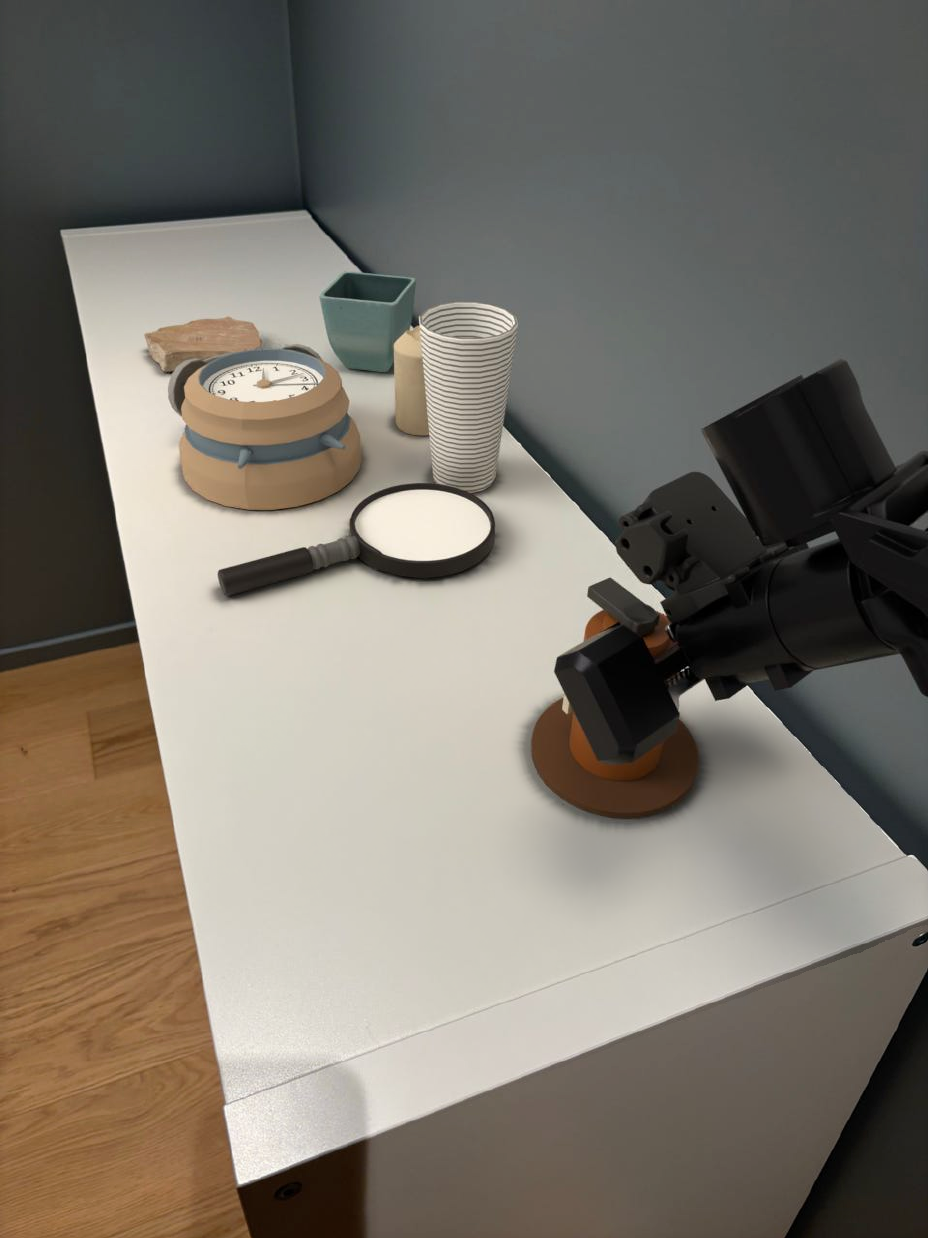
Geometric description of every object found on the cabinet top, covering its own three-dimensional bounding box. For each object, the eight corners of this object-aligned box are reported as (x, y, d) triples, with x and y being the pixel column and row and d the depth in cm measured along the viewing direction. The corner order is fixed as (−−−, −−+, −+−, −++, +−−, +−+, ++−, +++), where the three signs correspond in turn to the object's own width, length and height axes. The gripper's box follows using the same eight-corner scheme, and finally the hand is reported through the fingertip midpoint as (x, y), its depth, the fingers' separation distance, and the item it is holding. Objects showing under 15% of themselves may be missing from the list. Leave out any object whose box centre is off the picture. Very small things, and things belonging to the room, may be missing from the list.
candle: (397, 437, 94) (395, 342, 88) (393, 412, 98) (391, 320, 92) (451, 435, 95) (452, 341, 88) (445, 410, 99) (446, 319, 93)
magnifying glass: (200, 553, 78) (196, 532, 76) (452, 487, 87) (452, 467, 85) (248, 639, 69) (244, 617, 68) (521, 556, 78) (522, 535, 77)
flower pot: (347, 344, 112) (343, 269, 106) (417, 352, 111) (417, 276, 105) (323, 373, 105) (317, 295, 100) (397, 383, 104) (396, 304, 98)
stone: (255, 331, 114) (252, 311, 112) (267, 372, 105) (264, 350, 104) (147, 342, 111) (142, 321, 109) (149, 384, 102) (145, 362, 101)
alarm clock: (186, 432, 75) (140, 328, 91) (203, 527, 81) (157, 413, 97) (383, 398, 80) (307, 305, 96) (386, 489, 86) (314, 388, 102)
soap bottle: (679, 756, 60) (713, 622, 53) (610, 795, 58) (636, 660, 51) (612, 697, 65) (635, 565, 57) (545, 731, 62) (561, 597, 55)
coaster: (725, 742, 62) (726, 736, 62) (647, 848, 55) (649, 842, 55) (585, 673, 67) (586, 667, 67) (498, 763, 60) (499, 756, 60)
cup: (519, 495, 86) (531, 334, 76) (430, 506, 84) (431, 343, 74) (493, 451, 92) (501, 297, 82) (410, 460, 90) (408, 304, 81)
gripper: (845, 405, 49) (653, 498, 62) (605, 525, 39) (439, 604, 53) (934, 594, 49) (724, 645, 63) (718, 758, 40) (525, 778, 53)
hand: (612, 662), depth 58 cm, fingers closed on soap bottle, 6 cm apart
